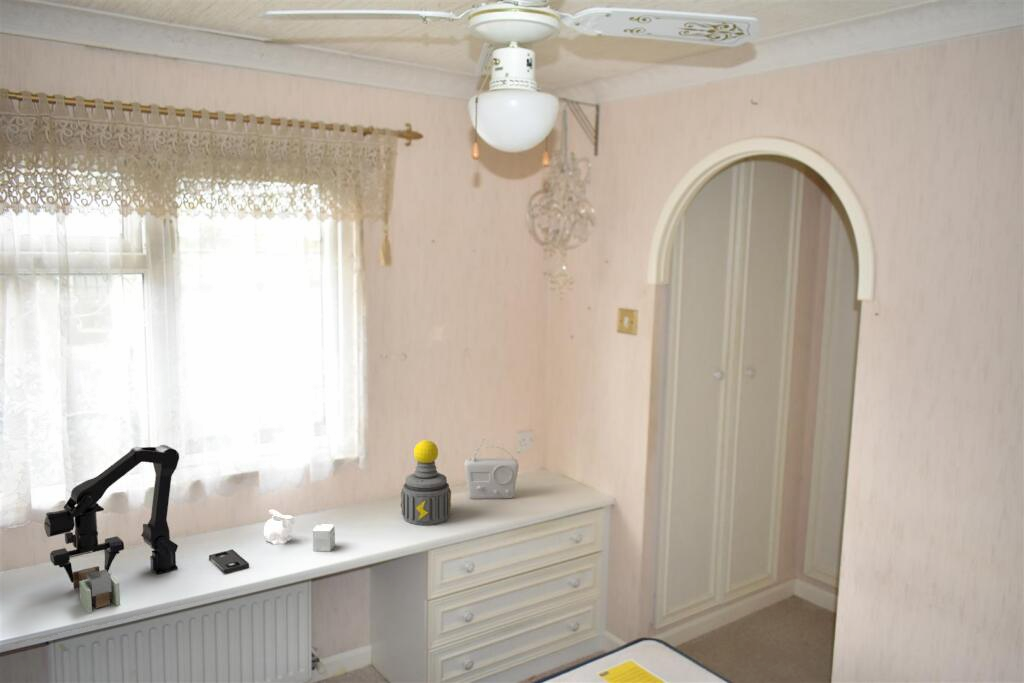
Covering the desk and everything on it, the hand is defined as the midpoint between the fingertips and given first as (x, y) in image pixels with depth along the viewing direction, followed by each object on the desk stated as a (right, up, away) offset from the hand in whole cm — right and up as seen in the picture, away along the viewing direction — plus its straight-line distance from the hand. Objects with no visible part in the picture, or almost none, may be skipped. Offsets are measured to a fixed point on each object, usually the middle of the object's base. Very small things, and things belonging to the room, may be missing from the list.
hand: (89, 577), depth 236 cm
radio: (+117, +6, +89) cm, 147 cm away
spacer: (+8, -1, -9) cm, 12 cm away
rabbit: (+45, +1, +40) cm, 60 cm away
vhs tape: (+34, -2, +21) cm, 40 cm away
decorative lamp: (+93, +3, +65) cm, 114 cm away
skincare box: (+62, 0, +35) cm, 71 cm away
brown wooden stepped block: (+4, -4, -4) cm, 7 cm away
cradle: (+7, -5, -7) cm, 11 cm away
